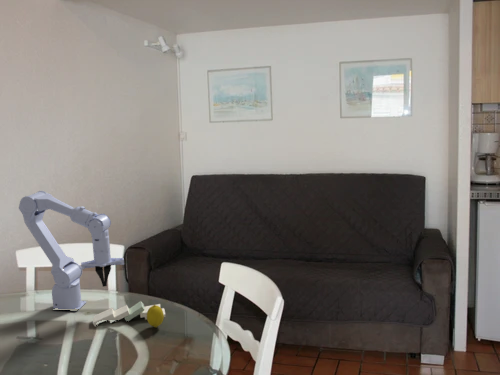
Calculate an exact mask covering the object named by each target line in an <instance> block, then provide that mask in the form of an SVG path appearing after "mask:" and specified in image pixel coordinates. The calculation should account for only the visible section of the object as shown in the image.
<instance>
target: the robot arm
mask: <svg viewBox="0 0 500 375" xmlns="http://www.w3.org/2000/svg"><path fill="white" fill-rule="evenodd" d="M18 210H19V211H20V213H21V214H22V217H23V221H24V223H25V226H26V227H27V229H28V230H29V232H30V233H31V234H32V236H33V238H34V239H35V241H36V243H37V244H38V246H40V249H41V250H42V251H43V253H44V254H45V256H46V258H47V259H48V261H49V262H50V263H51V270H50V274H51V275H52V277H53V281H54V283H55V284H54V285H53V287H52V288H51V299H52V305H53V308H58V309H75V308H76V309H79V310H80V309H82V307H83V306H84V305H86V303H87V301H86V300H82V293H81V284H80V281H81V277H82V275H83V270H86V269H90V268H91V269H92V268H94V270H95V272H96V274H97V276H98V277H99V279H100V281H101V284H102V287H107V286H108V285H107V284H108V280H109V279H108V278H109V275H110V273H111V270H112V266H117V265H118V266H120V265H121V266H122V265H123V266H124V265H125V259H124V257H111V247H110V246H111V245H110V242H111V241H110V233H109V231H110V230H109V229H110V227H111V225H112V221H111V218H110V217H109V216H108V215H107V214H105V213H98V212H96V211H94V212H93V211H91V210H88V209H86V207H85V206H83V205H81V206H76V207H73V206H72V205H70V204H68V203H66V202H64V201H62V200H60V199H58V198H56V197H54V195H53V194H51V193H49V192H46V191H45V190H39V191H37V192H36V193H35V192H34V193H32V194H30V195H25V196H23V197H21V199H20V201H19V205H18ZM47 210H52V211H54V212H56V213H59V214H62V215H64V216H68V217H69V218H70V221H72V222H73V223H75V224H77V225H79V226H82V227H84V228H86V229H88V231H89V233H90V235H91V238H92V239H91V240H92V250H93V251H92V252H93V259H91V260H88V261H83V262H82V261H81V263H80V264H79V263H78V262H76V261H75V260H74V258H72V256H71V257H70V256H68V255H66V254H65V252H64V250H63V249H62V247H61V246H60V244H59V243H58V242H57V240H56V238H55V237H54V235H53V234H52V232H51V231H50V229H49V228H48V227H47V225H46V224H45V222H44V220H43V218H44V214H45V212H46V211H47ZM53 308H52V309H53Z"/></svg>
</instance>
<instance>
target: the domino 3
mask: <svg viewBox="0 0 500 375" xmlns="http://www.w3.org/2000/svg"><path fill="white" fill-rule="evenodd" d="M144 307H145V304H144V303H143V302H142V300H140V301H138V302H137V303H135V304H134V305H133V306H131V307H128V308H129V313H130V315H128V316H126V317H124V320H125V321H126V322H127V321H128V322H129V321H131V320H132V319H134V318H135V317H137V316H138V315H140V313H141V312H143V311H144V310H145V309H144Z"/></svg>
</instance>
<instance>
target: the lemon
mask: <svg viewBox="0 0 500 375" xmlns="http://www.w3.org/2000/svg"><path fill="white" fill-rule="evenodd" d="M152 305H153V306H152V307H150V308H149V309H148V312H147V319H146V320H147V323H148V324H149V325H150V326H151V327H154V328H158V327H159V326H160V325H162V323H163V322H164V318H165V317H164V314H163V311H162V308H160V307H159V306H156V305H157V304H152Z"/></svg>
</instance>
